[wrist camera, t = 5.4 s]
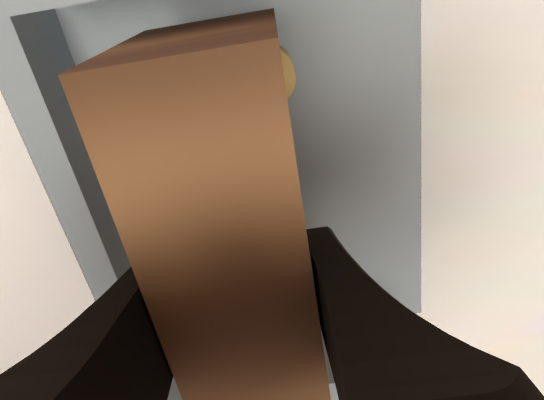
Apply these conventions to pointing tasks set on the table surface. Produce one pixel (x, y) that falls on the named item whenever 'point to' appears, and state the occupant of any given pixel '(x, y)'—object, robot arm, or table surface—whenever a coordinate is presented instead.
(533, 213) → the table surface
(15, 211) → the table surface
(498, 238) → the table surface
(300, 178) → the peg stand
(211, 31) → the board
